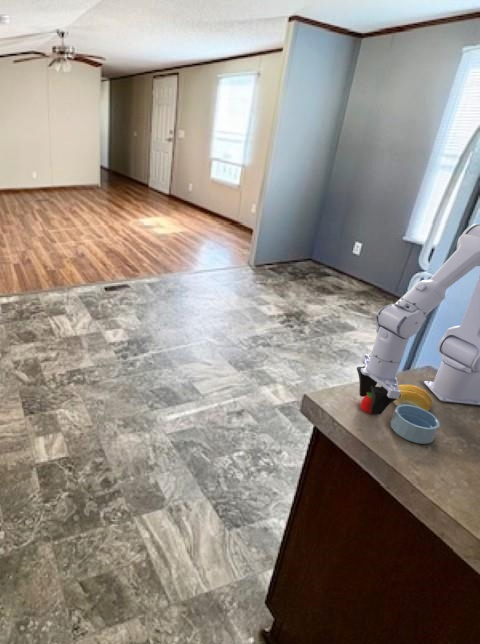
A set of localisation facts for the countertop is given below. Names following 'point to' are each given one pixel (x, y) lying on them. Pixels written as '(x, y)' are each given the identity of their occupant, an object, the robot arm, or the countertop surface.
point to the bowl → (414, 424)
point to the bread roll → (413, 397)
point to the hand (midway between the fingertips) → (370, 404)
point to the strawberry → (367, 403)
